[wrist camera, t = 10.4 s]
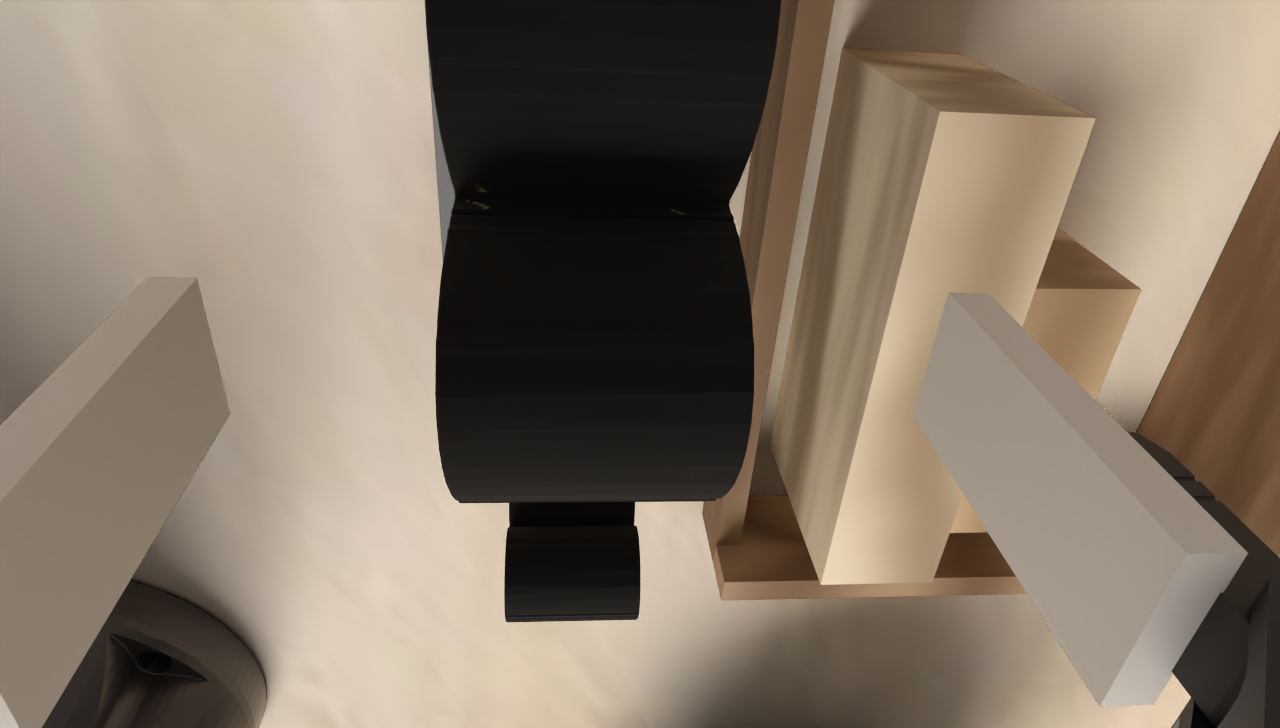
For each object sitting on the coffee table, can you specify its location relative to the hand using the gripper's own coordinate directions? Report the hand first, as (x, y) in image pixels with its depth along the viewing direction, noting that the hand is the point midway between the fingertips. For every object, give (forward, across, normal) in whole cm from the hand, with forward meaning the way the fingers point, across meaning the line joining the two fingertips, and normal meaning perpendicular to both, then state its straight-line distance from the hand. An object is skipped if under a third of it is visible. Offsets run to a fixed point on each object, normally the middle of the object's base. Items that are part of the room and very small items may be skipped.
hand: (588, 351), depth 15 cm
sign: (+14, 0, 0) cm, 14 cm away
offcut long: (+14, +10, -5) cm, 19 cm away
